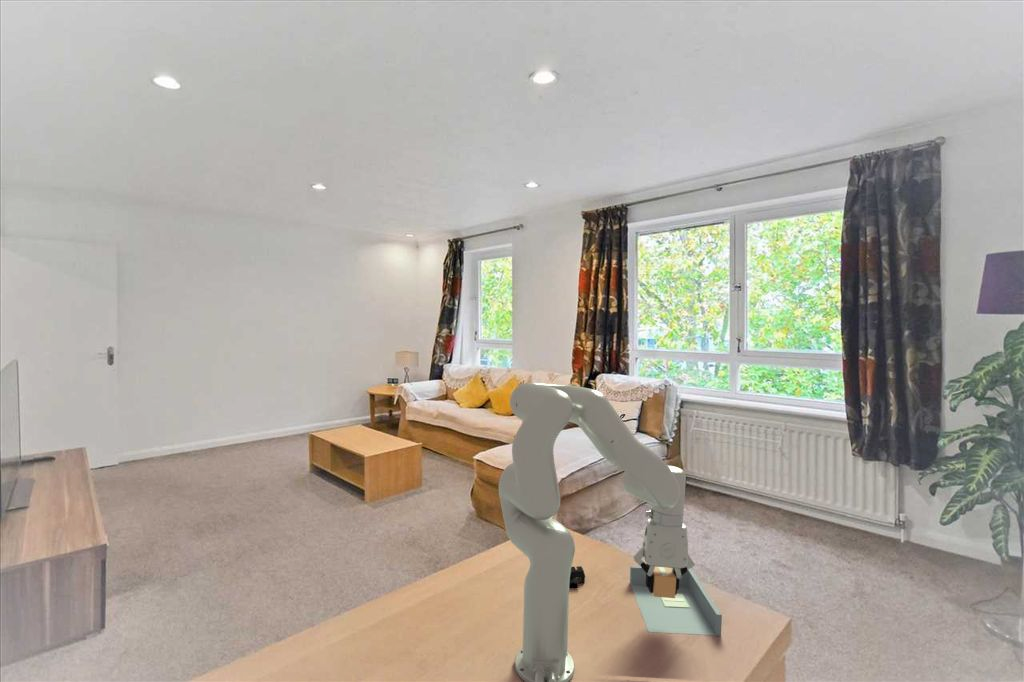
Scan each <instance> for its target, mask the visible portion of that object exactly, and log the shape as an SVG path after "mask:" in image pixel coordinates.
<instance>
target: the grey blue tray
mask: <svg viewBox="0 0 1024 682" xmlns="http://www.w3.org/2000/svg"><path fill="white" fill-rule="evenodd" d="M666 568H667V567H666ZM629 569H630V570H629V585H630V587H631V590H632V592H633V595H634V597H635V600H636V602H637V605H638V608H639V611H640V614H641V616H642V618H643V621H644V624H645V627H646V629H647V632H648V633H656V634H657V633H658V634H659V633H660V634H662V633H663V634H676V635H677V634H678V635H680V634H681V635H698V636H700V635H701V636H716V637H717V636H719V637H720V636H722V626H723V625H722V622H723V619H722V618H723V615H722V613H721V612H720V609H719V608H718V607H717V605H716V603H715V601H713V599H712V597H711V596H710V595H709V592H708V591H707V590H706V588H705V587H704V586H703V584H702V582H701V580H700V579H699V578H698V576H697V575H696V573H695V572H694V570H693V567H692V568H690V569H688V570H687V572H686V573H684V574H683V575H682V577H681V578H680V579H679V590H677V594H676V595H675V598H665V597H654V596H653V593H650V591H649V589H648V587H646V572H645V571H644V570H643V569H642V567H641V566H640V565H632V564H631V565H630V566H629ZM671 570H672V571H673V568H671Z"/></svg>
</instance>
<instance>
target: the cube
mask: <svg viewBox="0 0 1024 682" xmlns="http://www.w3.org/2000/svg"><path fill="white" fill-rule="evenodd" d="M653 576H654V585H653V596H654V597H665V598H675V589H676V576H675V575H674V573H673V571H672V570H671V568H666V567H656V566H655V569H654V571H653Z"/></svg>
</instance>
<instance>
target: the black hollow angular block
mask: <svg viewBox="0 0 1024 682" xmlns="http://www.w3.org/2000/svg"><path fill="white" fill-rule="evenodd" d="M585 581H586V574H585V571H584V568H583V567H582V566H581V565H580V566H571V572H570V581H569V589H578V588H579V586H578V584H585V583H586V582H585Z"/></svg>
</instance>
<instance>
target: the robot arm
mask: <svg viewBox="0 0 1024 682" xmlns="http://www.w3.org/2000/svg"><path fill="white" fill-rule="evenodd" d="M509 406H510V409H511V410H510V411H512V413H513V415H514V416H515V417H516V418H518V419H519V420H522V423H521V425H520V426H519V428H518V429H517V431H516V433H515V435H514V438H513V441H512V446H511V456H512V463H511V464H509V465H507V466H506V467H505V468H504V469H503V471H502V473H501V475H500V477H499V481H498V496H499V502H500V506H501V512H502V517H503V522H504V527H505V531H506V534H507V536H508V539H509V541H510V542H511V544H513V545H514V546H515V548H517V549H518V550H520V552H521V553H522V554H524V556H526V557H527V558H528V559H529V563H530V565H529V568H528V571H527V573H526V575H525V577H524V585H523V621H522V622H523V625H522V648H521V649H520V650H519V651H518V652H517V654H516V656H515V660H514V667H515V672H516V673H517V675H518V676H519V678H520V679H522V681H524V682H569V681H570V680H571V679H572V678H573V676H574V673H575V661H574V658H573V657H572V655H571V654H570V653H569V652H568V643H569V642H568V639H569V609H570V607H569V606H570V604H569V603H570V602H569V601H570V588H569V581H570V572H571V567H573V561H574V558H575V553H576V552H575V551H576V544H575V539H574V537H573V535H572V533H571V532H570V531H569V529H568V528H567V527H566V526H565V525H563V524H562V523H561V522H559V521H558V520H556V519H554V517H555V516H556V514H557V513H558V511H559V509H560V507H561V493H560V487H559V481H558V475H557V471H556V469H557V468H556V464H555V457H554V456H555V455H554V447H555V443H556V440H557V438H558V436H559V435H560V433H561V432H562V430H563V429H564V428H565V427H566V425H567V424H568V423H572V424H575V425H577V426H578V427H579V428H580V429H581V430H582V431H583V433H584V434H585V435H586V437H587V438H588V439H589V441H590V442H591V443H592V444H593V446H594V447H595V448H596V450H597V451H598V453H599V454H600V455H601V456H602V457H603V458H604V459H606V461H608V462H609V463H610V464H612V465H613V466H615V467H616V468H618V469H621V470H622V471H624V472H623V474H622V476H621V484H622V488H623V489H624V491H625V492H626V493H627V494H629V495H630V496H632V497H634V498H637V499H638V500H641V501H642V502H645V503H648V504H650V505H651V507H650V509H649V510H645V512H644V515H645V517H648V520H647V523H646V527H645V532H644V536H643V541H642V542H643V543H642V547H641V548H640V549H639V550H638V551H637V552H635V553H636V554H634V555H633V560H634V561H635V563H636V564H637V566H641V567H642V569H643V570H644V571H645V572H646V587H648V589H649V591H650V593H653V585H654V576H653V571H654V569H655V567H667V568H673V573H674V575H675V576H676V589H675V595H676V594H677V590H679V579H680V578H681V577H682V575H683V574H684V573H686V572H687V570H688V569H690V568H692V569H693V568H694V567H695V566H696V565H695V563H694V561H693V559H692V557H690V555H689V548H688V547H689V543H688V531H687V526H686V525H685V524H684V521H683V520H684V509H685V499H686V498H685V495H686V485H687V484H686V481H687V478H686V477H687V476H686V475H687V474H686V472H685V470H683V469H682V468H680V467H677V466H674V465H668V464H667V463H666V462H665V461H664V459H662V458H661V457H660V456H659V455H658V454H657V453H655V452H654V451H653V450H652V449H651V448H649V446H647V445H646V444H645V443H644V442H643V441H642V440H641V439H640V438H638V437H637V436H635V434H633V433H632V432H631V430H630V429H629V427H628V426H627V424H626V423H625V422H624V421H623V419H622V418H621V416H620V415H619V414H618V412H617V411H616V409H615V408H614V406H613V404H611V402H610V401H609V400H608V398H607V397H606V396H605V394H603V393H602V392H601V391H599V390H596V389H593V388H589V387H588V388H587V387H584V386H578V385H572V384H553V383H540V382H524V383H521V384H519V385H517V386H516V387H515V388H514V389H513V390H512V392H511V394H510V399H509ZM643 558H644V560H643Z"/></svg>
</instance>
